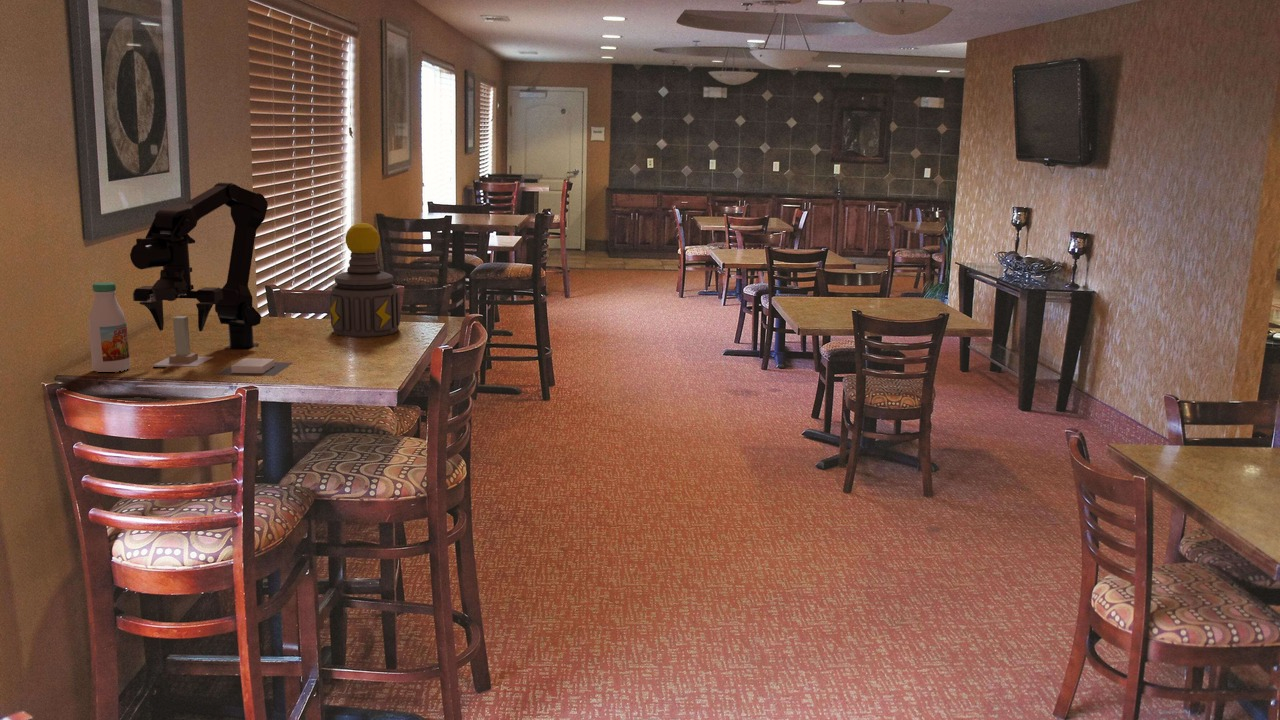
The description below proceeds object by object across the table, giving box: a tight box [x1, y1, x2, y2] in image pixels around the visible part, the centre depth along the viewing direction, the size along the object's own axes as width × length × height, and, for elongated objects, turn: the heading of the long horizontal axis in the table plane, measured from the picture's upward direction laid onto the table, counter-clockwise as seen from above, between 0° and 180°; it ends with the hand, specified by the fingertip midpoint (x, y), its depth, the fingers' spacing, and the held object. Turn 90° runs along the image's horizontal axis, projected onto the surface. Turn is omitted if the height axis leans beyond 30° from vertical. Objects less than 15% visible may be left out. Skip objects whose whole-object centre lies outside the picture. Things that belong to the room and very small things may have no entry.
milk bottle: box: [88, 281, 131, 373], centre depth 234 cm, size 8×8×20 cm
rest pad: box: [152, 355, 214, 368], centre depth 244 cm, size 10×10×1 cm
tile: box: [230, 357, 276, 374], centre depth 237 cm, size 2×7×8 cm
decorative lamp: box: [329, 222, 401, 338], centre depth 283 cm, size 19×19×30 cm
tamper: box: [168, 315, 199, 363], centre depth 243 cm, size 4×5×10 cm
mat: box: [217, 360, 293, 377], centre depth 239 cm, size 13×13×1 cm
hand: (181, 330), depth 242 cm, fingers open, 9 cm apart
